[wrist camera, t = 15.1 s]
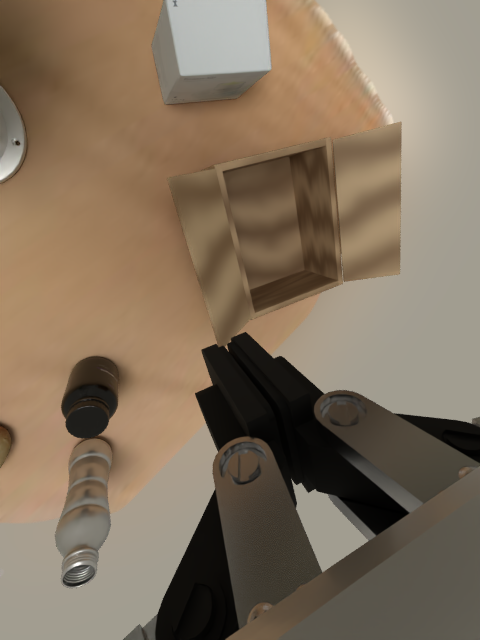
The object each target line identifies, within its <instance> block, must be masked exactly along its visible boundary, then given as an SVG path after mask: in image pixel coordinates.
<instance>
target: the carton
mask: <svg viewBox="0 0 480 640" xmlns="http://www.w3.org/2000/svg"><path fill="white" fill-rule="evenodd" d="M211 169H216V172H217V176H218V180H219V185H220V189H221V193H222V197H223V201H224V206H225V210H226V214H227V218H228V222H229V227H230V231H231V235H232V239H233V244H234V248H235V252H236V256H237V260H238V265H239V269H240V273H241V277H242V281H243V286H244V290H245V294H246V298H247V302H248V307H249V311H250V315H251V319H250V320H252V319H255V318H257V317H260V316H262V315H265V314H267V313H270V312H272V311H275V310H278V309H280V308H283V307H285V306H288V305H290V304H293V303H295V302H298V301H300V300H303V299H305V298H308V297H310V296H313V295H316V294H318V293H321V292H323V291H325V290H328V289H331V288H333V287H336V286H338V285H341V284H343V280H342V267H341V255H340V242H339V230H338V218H337V205H336V193H335V180H334V168H333V156H332V143H331V137H329V138H324V139H320V140H316V141H312V142H308V143H304V144H299V145H295V146H291V147H287V148H283V149H279V150H275V151H270V152H266V153H262V154H258V155H254V156H250V157H245V158H241V159H237V160H233V161H229V162H225V163H220V164H216V165H213V166H211V167H209V168H206V169H204V170H202V171H206V170H211Z"/></svg>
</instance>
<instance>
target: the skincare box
mask: <svg viewBox="0 0 480 640" xmlns="http://www.w3.org/2000/svg"><path fill="white" fill-rule="evenodd" d="M152 51H153V55H154V60H155V65H156V69H157V74H158V78H159V83H160V88H161V92H162V97H163V101H164V104H178V103H190V102H202V101H213V100H225V99H237V98H238V97H239V96H240V95H242V94H243V93H244V92H245V91H246V90H247V89H249V88H250V87H251V86H252V85H253V84H255V83H256V82H257V81H258V80H259V79H261V78H262V77H263V76H264V75H265V74H267V73H268V72H269V71H270V70H271V54H270V42H269V30H268V18H267V6H266V0H163V5H162V9H161V13H160V16H159V20H158V24H157V28H156V31H155V35H154V39H153V41H152Z"/></svg>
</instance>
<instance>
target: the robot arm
mask: <svg viewBox="0 0 480 640" xmlns="http://www.w3.org/2000/svg"><path fill="white" fill-rule="evenodd" d="M17 141H19V142H20V146H17V145H16V142H17ZM26 149H27V136H26V131H25V126H24V123H23V120H22V117H21V115H20V112H19V111H18V109H17V107H16V105H15V104H14V102H13V100H12V99H11V98H10V96H9V95H8V94H7V92H6V91H5V90H4V88H3V87H2V86H1V85H0V183H3V182H5V181H6V180H8V179H9V178H11V177H12V176H13V175H14V174H15V173H16V172H17V171H18V169H19V168H20V166H21V164H22V162H23V161H24V158H25V154H26ZM227 346H228V350H229V352H228V351H227V349H226V348H225V347H224V346H220V347H218V345H217V344H214V345H212V346H210V347H207V348H205V349H202V354H203V357H204V360H205V363H206V366H207V369H208V372H209V375H210V378H211V381H212V384H213V386H211V387H208V388H206V389H204V390H202V391H199V392H197V393H195V395H196V398H197V400H198V403H199V406H200V408H201V411H202V413H203V416H204V419H205V421H206V424H207V426H208V428H209V431H210V433H211V436H212V438H213V441H214V443H215V445H216V448H217V450H218V454H217V455H216V456H215V459H214V462H213V478H214V483H215V491H214V493H213V495H212V497H211V499H210V501H209V503H208V505H207V507H206V510H205V512H204V514H203V516H202V518H201V520H200V522H199V524H198V526H197V528H196V531H195V533H194V535H193V537H192V539H191V541H190V543H189V545H188V547H187V550H186V552H185V554H184V556H183V558H182V560H181V562H180V564H179V566H178V569H177V570H176V573H175V575H174V577H173V579H172V581H171V583H170V585H169V588H168V589H167V591H166V594H165V596H164V598H163V600H162V603H161V607H160V609H159V612H158V614H157V615H156V616H155V617H154V618H153V619H152V620H151V621H150V622H149V623H148V624H146V626H144V627H143V628H142V627H141V625H140V624H139V625H138V626H137V627H136V628H135V629H134V630H133V631H132V632H131V633H130V634H128V635H127V636H126V637H125V638H124V639H123V640H480V417H478V418H474V419H472V424H471V423H467V422H463V421H457V420H449V419H440V418H431V417H421V416H413V415H404V414H395V413H392V412H390V411H388V410H387V409H385V408H383V407H382V406H380V405H378V404H376V403H375V402H373V401H371V400H369V399H367V398H366V397H364V396H362V395H360V394H358V393H355V392H352V391H347V390H337V391H332V392H328V393H326V394H324V393H323V392H322V391H320V390H319V389H318V388H317V387H316V386H315V385H314V384H313V383H311V382H310V381H309V380H308V379H307V378H306V377H305V376H303V374H301V373H300V372H299V371H298V370H297V369H296V368H295V367H294V366H292V365H291V364H290V363H289V362H288V361H287V360H286V359H285V358H283V357H282V356H279V357H277V358H272V356H271V355H270V354H268V353H267V352H266V351H265V350H264V349H263V348H262V347H261V346H260V345H259V344H258V343H257V342H256V341H255V340H254V339H253V338H252V337H251V336H250V335H249V334H248V333H246V332H244V333H242V334H239V335H237V336H234V337H232V338H231V342H230V343H228V344H227ZM291 479H292V480H293V482H294V483H295V484H296V485H298V484H299V483H302V484H303V486H304V487H305V489H306V490H307V492H308V493H309V492H311V491H312V490H314V489H316V490H317V491H318V492H322V493H326V494H328V496H329V498H330V500H331V501H332V502H333V504H334V505H335V506H336V507H337V508H338V509H339V510H340V511H341V512H342V513H343V514H344V515H345V516H346V517H347V518H348V520H349V521H350V522H351V523H352V524H353V525H354V526H355V527H356V528H357V529H358V530H359V531H360V532H361V533H362V534H363V535H364V536H365V537H366V538H367V539H368V540H369V541H368V542H367V543H365V544H364V545H362V546H361V547H360V548H358V549H356V550H355V551H354V552H352V553H351V554H349V555H348V556H346V557H345V558H344V559H342V560H340V561H339V562H337V563H336V564H334V565H333V566H331V567H330V568H329V569H327V570H326V571H325V572H323V573H322V570H321V568H320V566H319V563H318V561H317V558H316V556H315V554H314V551H313V549H312V546H311V544H310V542H309V539H308V537H307V534H306V532H305V530H304V527H303V525H302V523H301V520H300V518H299V515H298V513H297V510H296V505H297V502H296V497H295V493H294V489H293V484H292V480H291Z"/></svg>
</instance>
